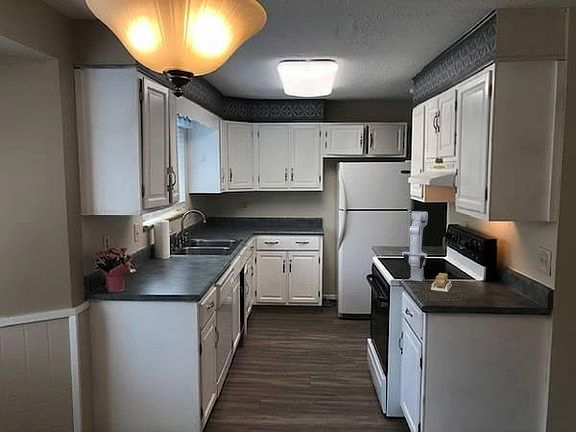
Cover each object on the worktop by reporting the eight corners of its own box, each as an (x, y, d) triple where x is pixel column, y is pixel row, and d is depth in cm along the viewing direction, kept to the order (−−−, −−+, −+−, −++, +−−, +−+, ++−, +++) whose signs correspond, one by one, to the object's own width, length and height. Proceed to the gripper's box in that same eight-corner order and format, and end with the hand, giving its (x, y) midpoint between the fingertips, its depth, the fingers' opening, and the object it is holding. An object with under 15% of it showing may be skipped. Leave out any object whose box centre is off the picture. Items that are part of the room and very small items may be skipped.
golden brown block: (439, 281, 269) (439, 272, 268) (447, 282, 266) (447, 273, 266) (435, 285, 258) (435, 277, 258) (443, 286, 256) (443, 278, 255)
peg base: (435, 284, 271) (436, 279, 271) (451, 286, 267) (452, 280, 266) (430, 289, 259) (431, 284, 259) (447, 291, 254) (447, 286, 254)
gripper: (400, 245, 267) (400, 267, 269) (425, 247, 260) (424, 270, 261) (404, 244, 273) (403, 265, 275) (428, 245, 266) (427, 268, 267)
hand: (414, 268), depth 268 cm, fingers open, 7 cm apart
